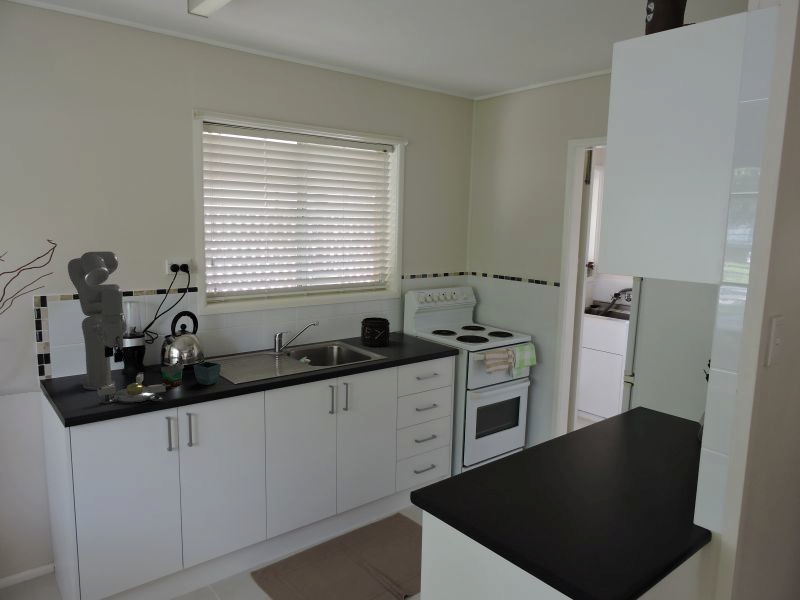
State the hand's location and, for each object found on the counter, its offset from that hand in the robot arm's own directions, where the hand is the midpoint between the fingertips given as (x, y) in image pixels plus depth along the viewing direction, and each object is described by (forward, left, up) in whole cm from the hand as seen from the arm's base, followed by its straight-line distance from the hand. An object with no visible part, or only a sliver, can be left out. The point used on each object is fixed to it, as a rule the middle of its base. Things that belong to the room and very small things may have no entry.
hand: (113, 359), depth 233 cm
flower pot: (+19, +36, -18) cm, 44 cm away
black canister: (+64, +144, -18) cm, 158 cm away
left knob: (-2, +17, -17) cm, 24 cm away
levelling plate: (+6, +8, -18) cm, 20 cm away
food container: (+8, +28, -18) cm, 34 cm away
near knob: (-2, -2, -17) cm, 17 cm away
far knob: (+14, +8, -17) cm, 23 cm away
